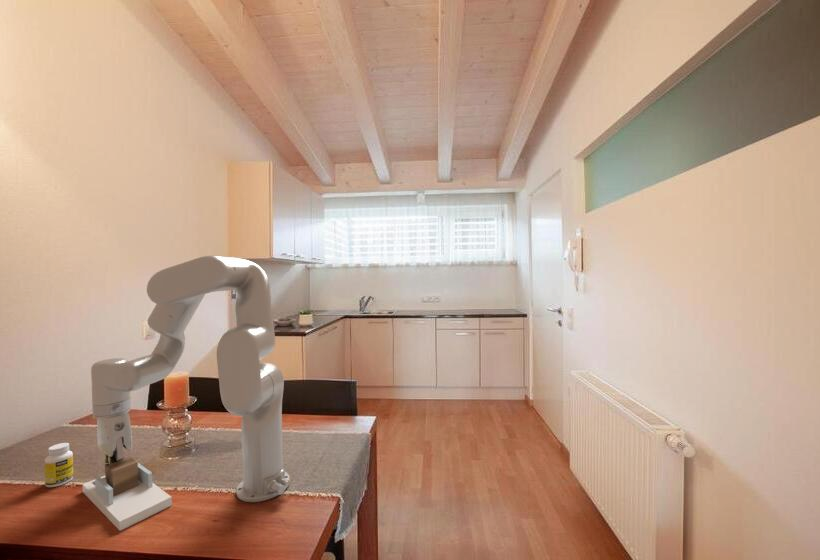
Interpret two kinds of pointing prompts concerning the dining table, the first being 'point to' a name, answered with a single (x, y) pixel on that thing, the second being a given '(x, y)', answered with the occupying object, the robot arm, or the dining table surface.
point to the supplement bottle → (58, 465)
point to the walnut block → (122, 475)
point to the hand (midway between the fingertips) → (114, 477)
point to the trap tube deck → (128, 499)
